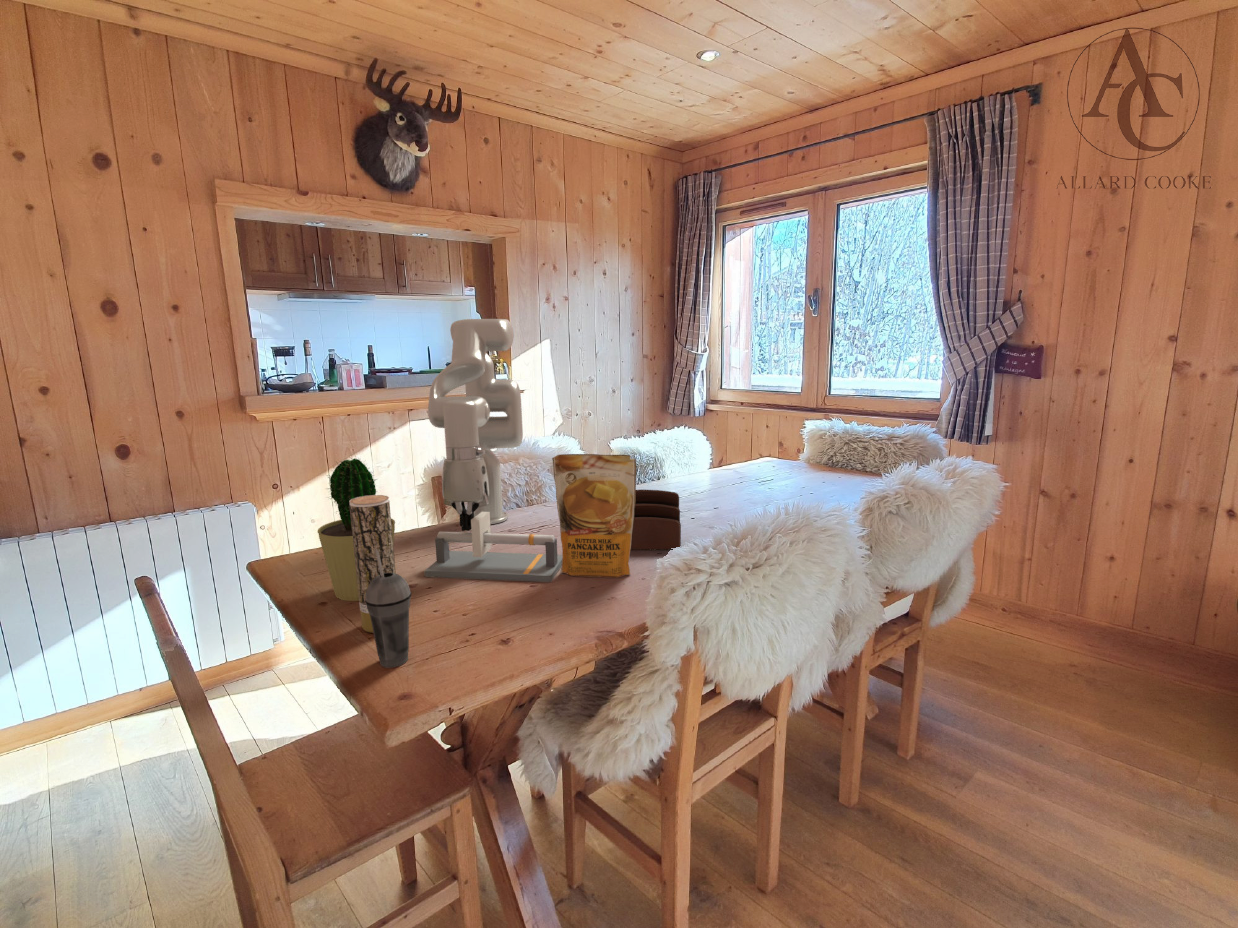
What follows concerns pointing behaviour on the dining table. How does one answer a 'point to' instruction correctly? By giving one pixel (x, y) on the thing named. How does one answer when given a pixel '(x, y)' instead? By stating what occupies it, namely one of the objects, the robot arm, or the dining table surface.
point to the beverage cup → (389, 616)
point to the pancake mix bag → (595, 512)
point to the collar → (480, 533)
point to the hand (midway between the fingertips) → (467, 529)
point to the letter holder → (656, 520)
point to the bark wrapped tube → (371, 544)
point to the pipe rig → (496, 559)
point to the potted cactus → (345, 526)
